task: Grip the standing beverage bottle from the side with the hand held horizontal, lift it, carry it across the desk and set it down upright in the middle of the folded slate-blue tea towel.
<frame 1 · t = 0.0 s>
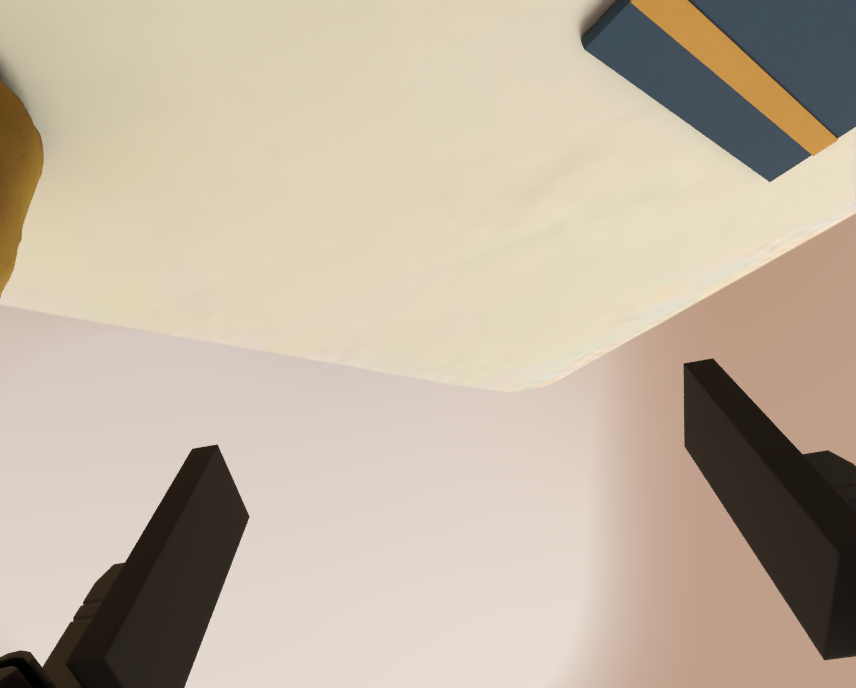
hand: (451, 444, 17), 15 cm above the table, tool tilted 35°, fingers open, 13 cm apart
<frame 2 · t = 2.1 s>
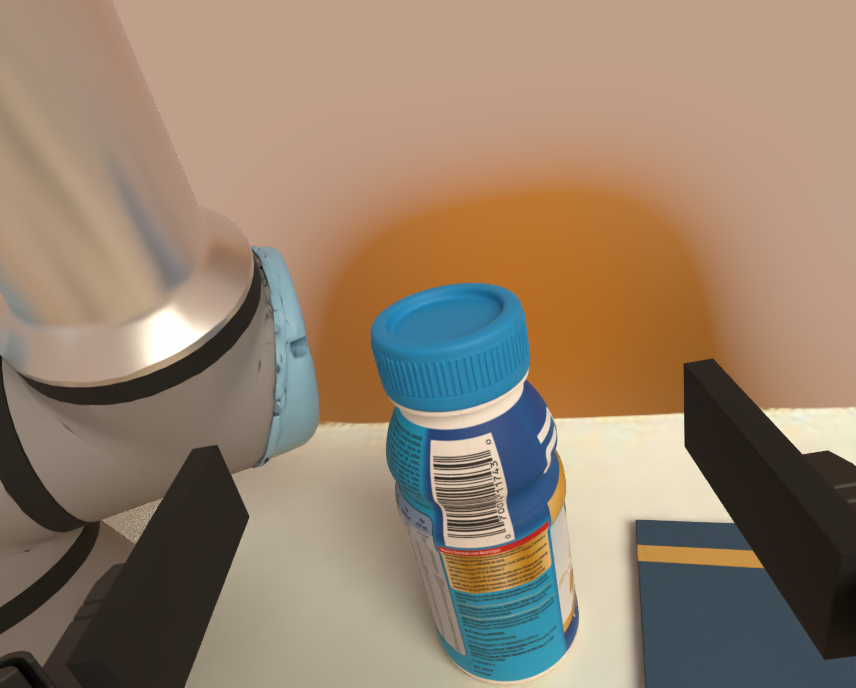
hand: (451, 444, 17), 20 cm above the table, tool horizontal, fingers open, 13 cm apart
beverage bottle: (508, 623, 34), on the table
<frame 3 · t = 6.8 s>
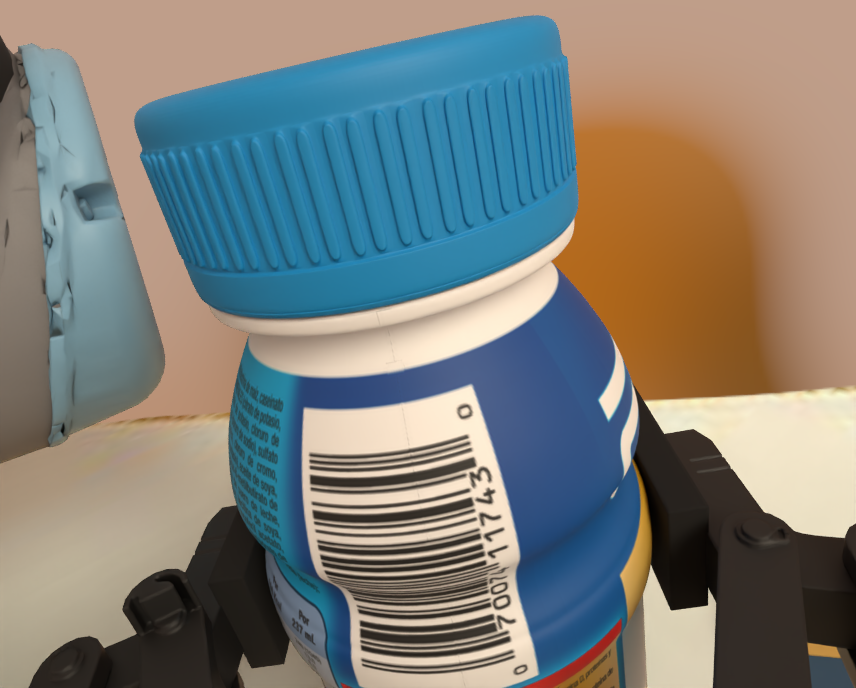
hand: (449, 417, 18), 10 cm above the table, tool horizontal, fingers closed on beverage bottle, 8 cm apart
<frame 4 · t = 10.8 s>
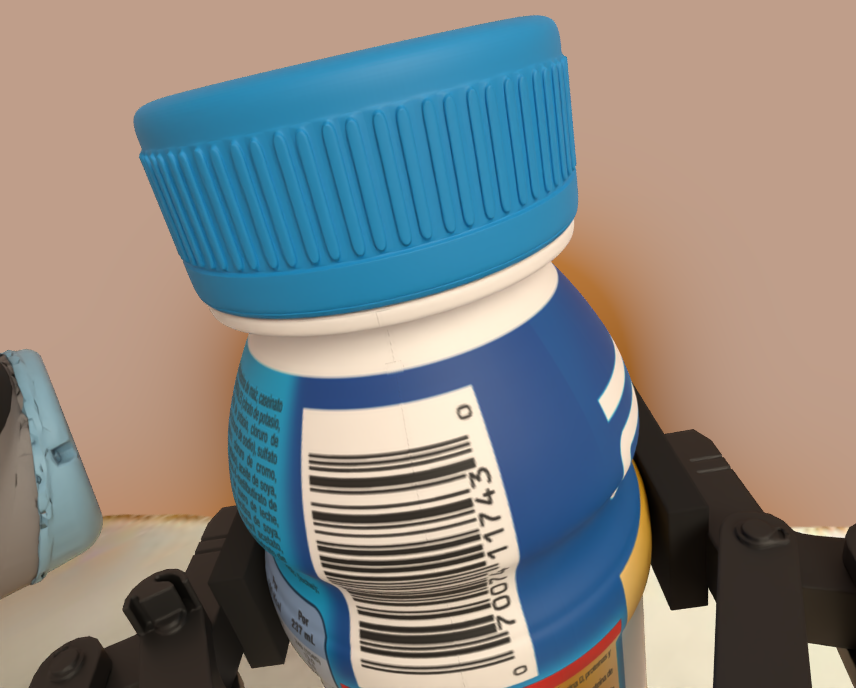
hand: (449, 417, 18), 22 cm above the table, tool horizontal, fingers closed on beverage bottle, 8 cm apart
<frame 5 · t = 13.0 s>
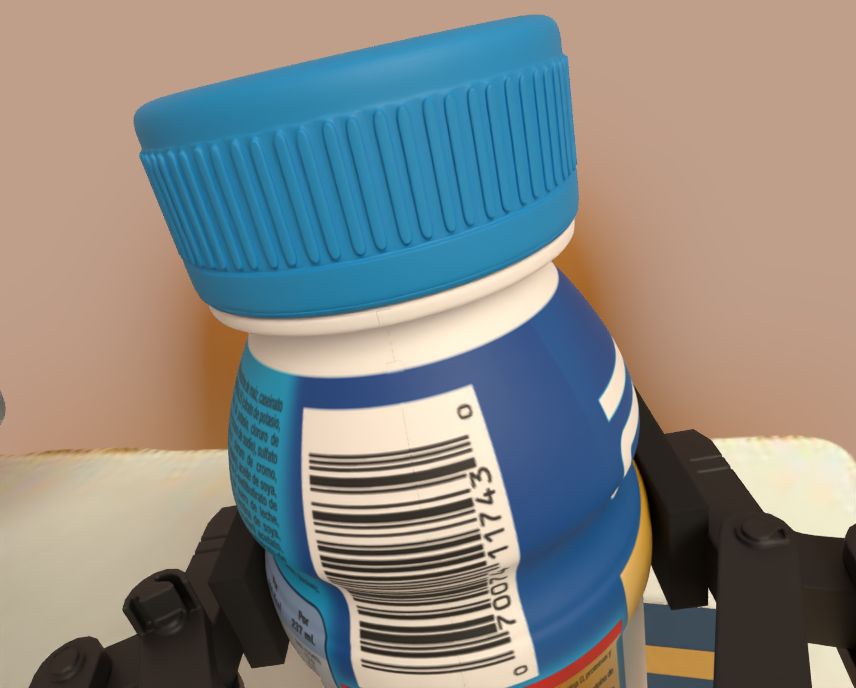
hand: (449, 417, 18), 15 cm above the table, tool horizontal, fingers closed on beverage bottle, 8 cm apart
when the fingers open (11 cm above the table, at t = 14.8 s): beverage bottle stays where it is, resting on tea towel.
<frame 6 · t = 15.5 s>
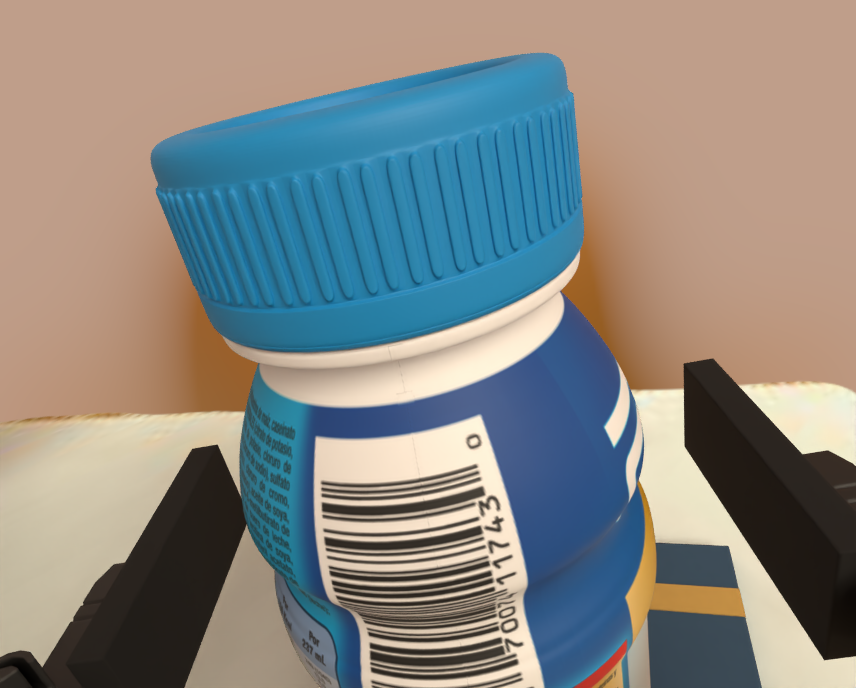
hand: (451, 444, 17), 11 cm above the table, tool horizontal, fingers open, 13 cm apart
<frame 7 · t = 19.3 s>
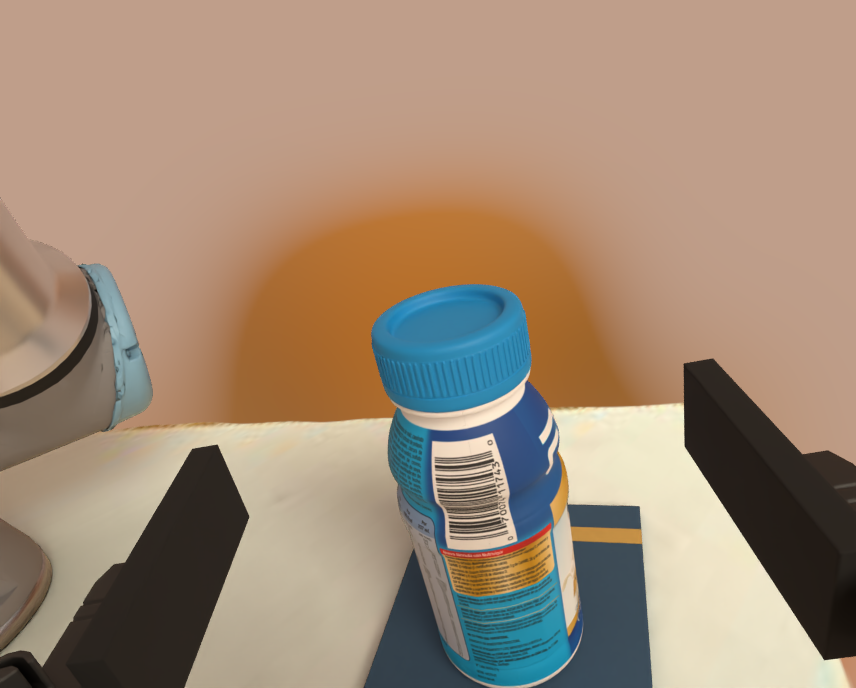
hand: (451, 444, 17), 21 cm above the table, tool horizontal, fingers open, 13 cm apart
beverage bottle: (511, 628, 34), resting on tea towel
tea towel: (511, 631, 34), on the table
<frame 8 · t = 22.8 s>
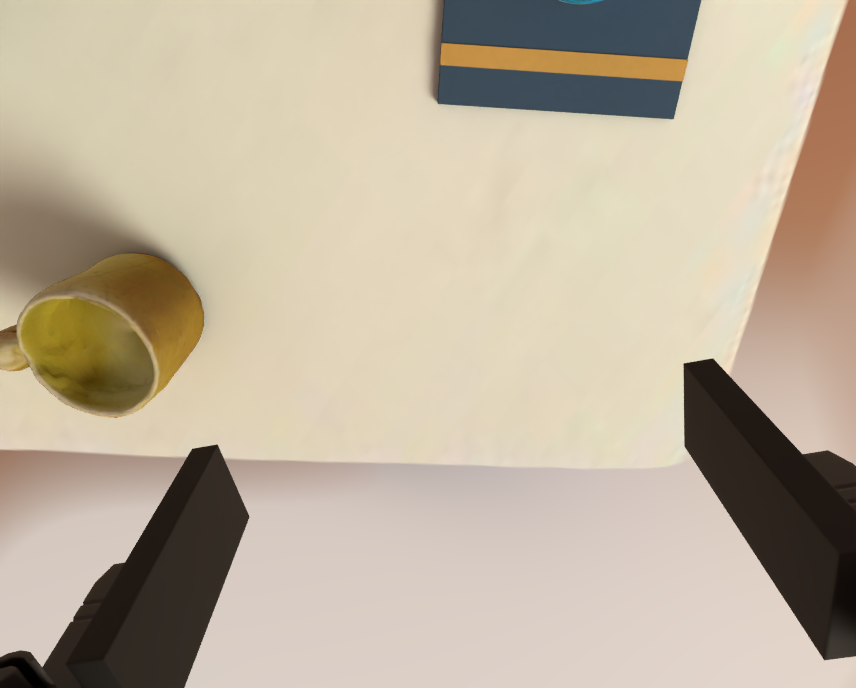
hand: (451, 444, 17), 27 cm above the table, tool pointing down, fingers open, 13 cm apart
mug: (125, 306, 44), on the table
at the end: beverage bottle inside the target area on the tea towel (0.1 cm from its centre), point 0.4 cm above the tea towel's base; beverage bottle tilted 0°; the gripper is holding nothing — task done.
